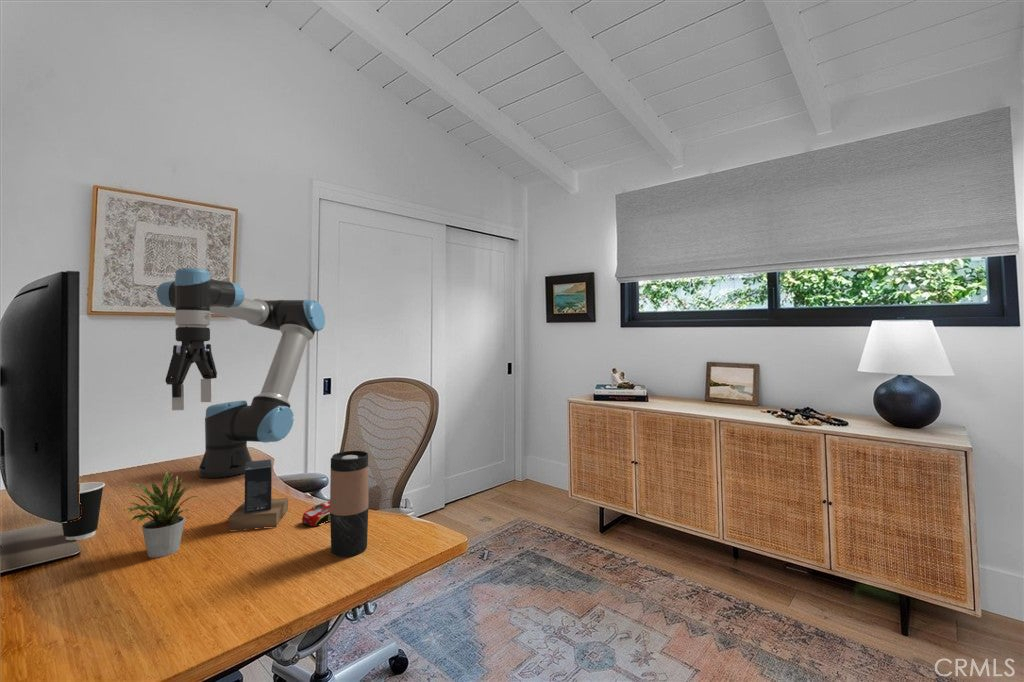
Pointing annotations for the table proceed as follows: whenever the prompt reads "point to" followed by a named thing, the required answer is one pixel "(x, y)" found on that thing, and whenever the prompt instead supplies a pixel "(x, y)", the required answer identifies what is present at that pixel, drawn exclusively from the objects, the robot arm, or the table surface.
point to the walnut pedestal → (258, 516)
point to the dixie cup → (86, 512)
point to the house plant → (162, 518)
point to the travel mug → (349, 503)
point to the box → (258, 486)
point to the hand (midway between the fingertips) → (193, 405)
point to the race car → (317, 514)
